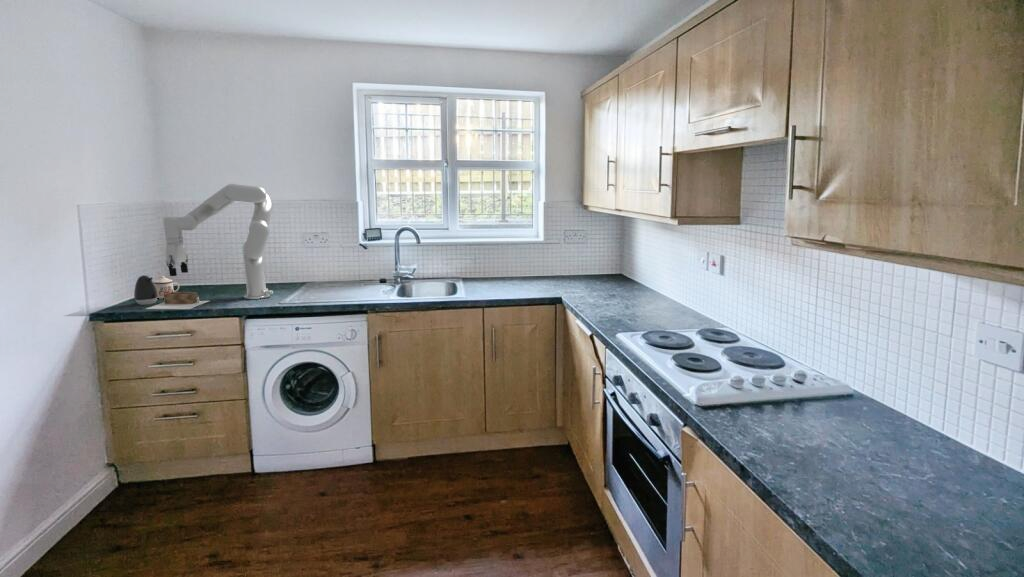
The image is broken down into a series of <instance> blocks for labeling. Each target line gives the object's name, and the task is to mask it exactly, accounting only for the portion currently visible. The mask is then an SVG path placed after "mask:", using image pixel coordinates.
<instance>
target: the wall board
mask: <svg viewBox="0 0 1024 577" xmlns="http://www.w3.org/2000/svg"><path fill="white" fill-rule="evenodd" d="M163 298H164V297H163ZM196 300H197V302H196V303H194V304H165V300H164V299H163V302H161V303H158V304H155V305H152V306H149V307H146V308H145V310H190V309H193V308H195V307H196V308H197V306H198V307H199V306H201V305H204V304H206V303H208V302H209V303H210V300H200V296H198V297H196Z"/></svg>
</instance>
